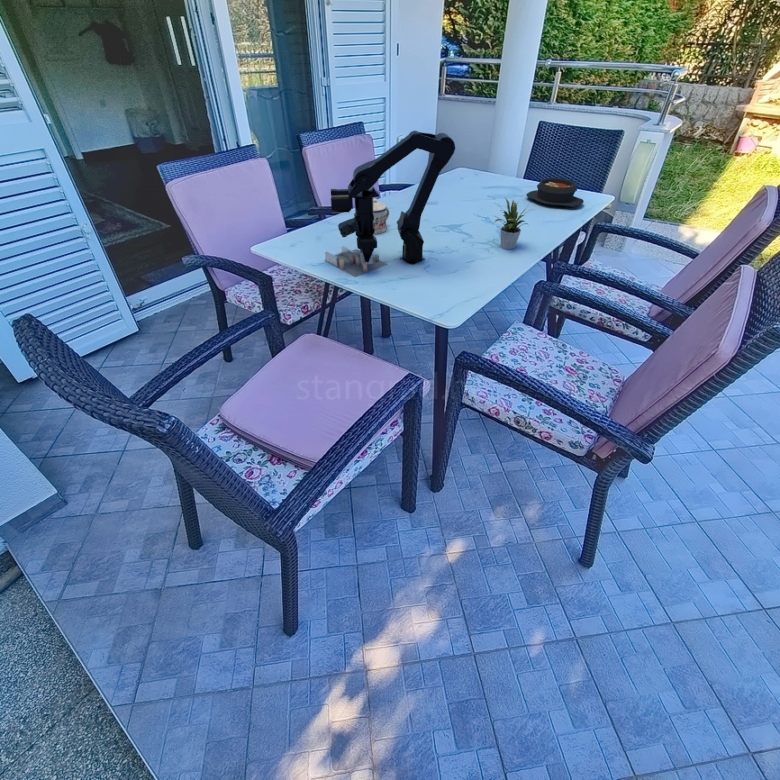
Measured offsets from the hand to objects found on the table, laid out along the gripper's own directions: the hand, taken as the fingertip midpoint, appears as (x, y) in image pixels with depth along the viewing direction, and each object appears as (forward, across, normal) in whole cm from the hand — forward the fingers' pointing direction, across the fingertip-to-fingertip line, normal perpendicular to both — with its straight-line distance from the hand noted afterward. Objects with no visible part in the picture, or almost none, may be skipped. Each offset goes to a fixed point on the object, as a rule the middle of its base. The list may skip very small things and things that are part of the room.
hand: (366, 258), depth 150 cm
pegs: (+1, +3, -2) cm, 4 cm away
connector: (+1, 0, 0) cm, 1 cm away
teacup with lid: (+2, -30, +7) cm, 31 cm away
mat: (+2, 0, -4) cm, 4 cm away
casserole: (+2, -53, +88) cm, 102 cm away
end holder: (+2, -2, -9) cm, 9 cm away
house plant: (+2, -9, +51) cm, 52 cm away
